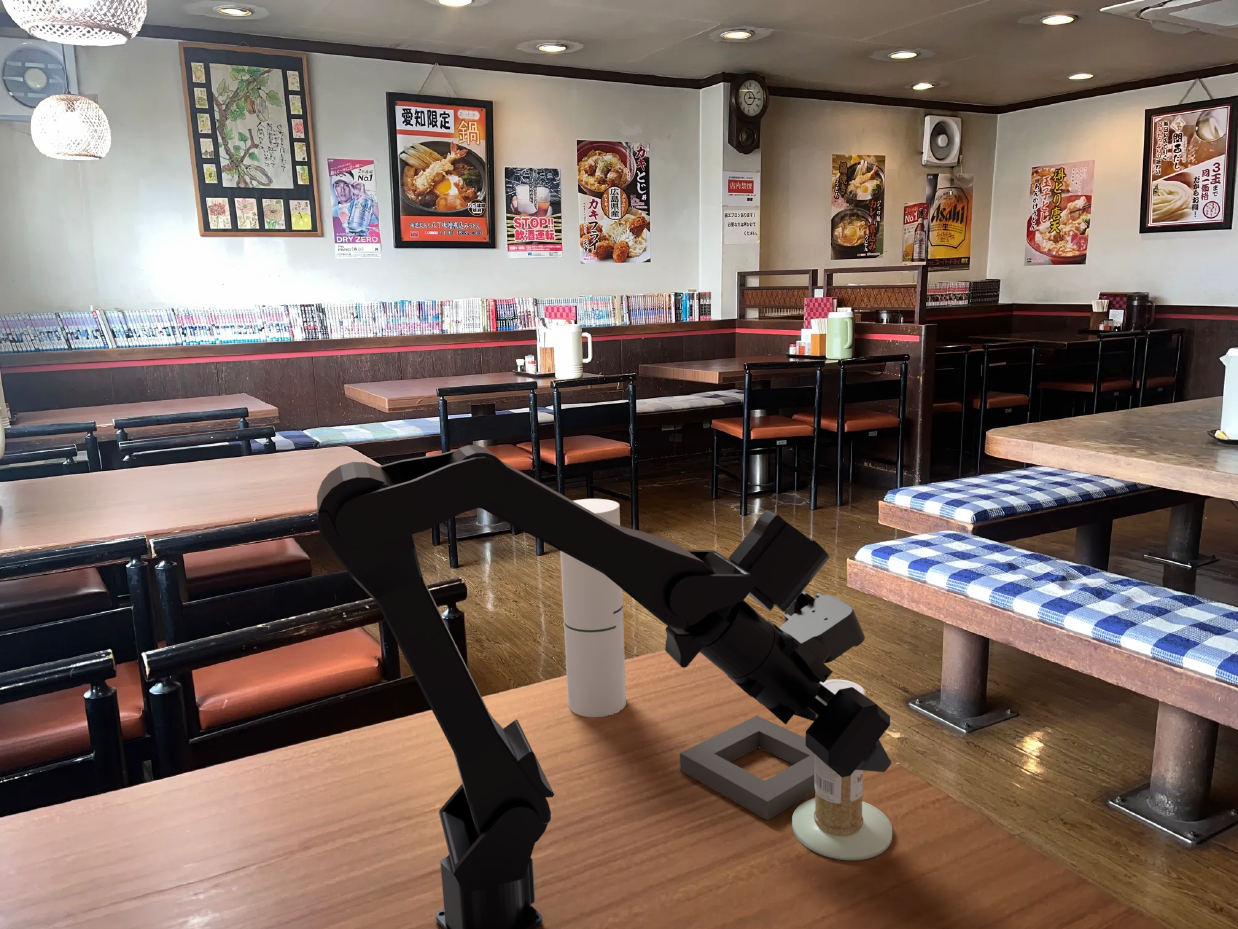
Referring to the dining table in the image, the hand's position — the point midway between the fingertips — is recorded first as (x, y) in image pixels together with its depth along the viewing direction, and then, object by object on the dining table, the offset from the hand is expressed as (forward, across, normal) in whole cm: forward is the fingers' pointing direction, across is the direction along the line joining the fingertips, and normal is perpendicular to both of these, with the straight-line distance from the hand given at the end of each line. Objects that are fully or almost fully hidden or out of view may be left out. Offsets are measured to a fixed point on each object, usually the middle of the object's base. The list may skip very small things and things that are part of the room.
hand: (856, 742), depth 80 cm
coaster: (+5, 0, +7) cm, 9 cm away
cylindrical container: (-4, +33, +16) cm, 37 cm away
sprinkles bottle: (+5, 0, +7) cm, 8 cm away
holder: (+4, +12, +8) cm, 15 cm away
